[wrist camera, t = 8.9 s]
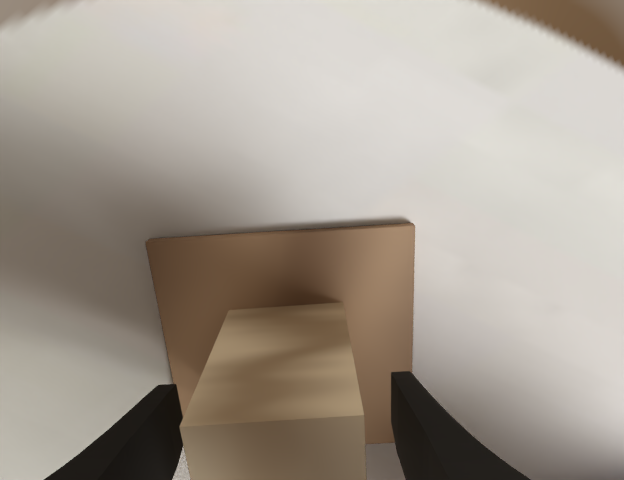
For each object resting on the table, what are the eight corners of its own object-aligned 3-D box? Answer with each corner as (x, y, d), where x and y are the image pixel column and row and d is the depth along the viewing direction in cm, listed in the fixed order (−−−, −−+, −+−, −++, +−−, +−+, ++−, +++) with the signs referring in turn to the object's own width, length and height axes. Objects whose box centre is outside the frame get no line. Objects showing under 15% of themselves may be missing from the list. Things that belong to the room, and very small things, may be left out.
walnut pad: (412, 223, 14) (415, 225, 14) (408, 434, 17) (410, 441, 17) (149, 238, 15) (145, 242, 14) (190, 446, 18) (187, 453, 17)
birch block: (342, 302, 15) (364, 414, 9) (347, 397, 16) (369, 547, 11) (228, 310, 15) (179, 426, 9) (242, 404, 16) (207, 557, 11)
